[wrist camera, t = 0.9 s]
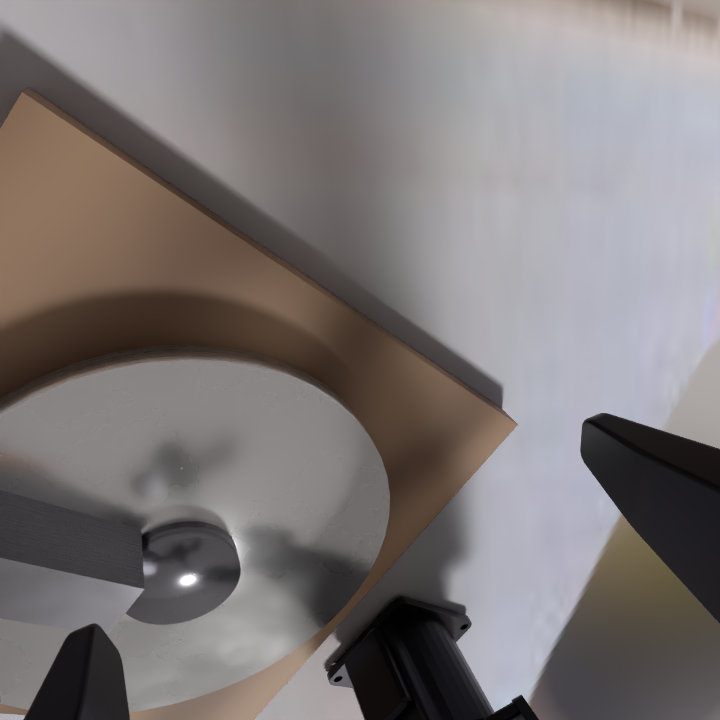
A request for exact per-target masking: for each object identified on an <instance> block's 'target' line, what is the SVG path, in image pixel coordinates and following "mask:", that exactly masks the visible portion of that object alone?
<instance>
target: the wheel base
mask: <svg viewBox="0 0 720 720" xmlns="http://www.w3.org/2000/svg"><path fill="white" fill-rule="evenodd" d="M168 345H201V346H219V347H225V348H231V349H237V350H242V351H248V352H253V353H256V354H260V355H263V356H266V357H269V358H273V359H276V360H279V361H282V362H284V363H286V364H289V365H291V366H293V367H295V368H297V369H299V370H302V371H304V372H306V373H308V374H309V375H311V376H312V377H314V378H315V379H317V380H318V381H320V382H321V383H323V384H325V385H326V386H328V387H329V388H330V389H331V390H332V391H333V392H334V393H336V394H337V395H338V396H339V397H340V398H341V399H342V400H343V401H344V402H346V404H347V405H348V406H349V407H350V409H351V410H352V411H353V412H354V414H355V415H356V416H357V417H358V419H359V420H360V422H361V423H362V425H363V426H364V428H365V430H366V431H367V433H368V434H369V436H370V438H371V439H372V441H373V443H374V445H375V447H376V449H377V450H378V452H379V454H380V456H381V458H382V461H383V464H384V467H385V471H386V474H387V477H388V485H389V492H390V510H389V519H388V525H387V530H386V535H385V538H384V540H383V543H382V546H381V549H380V552H379V554H378V556H377V558H376V561H375V563H374V565H373V567H372V569H371V571H370V572H369V574H368V576H367V577H366V579H365V580H364V582H363V583H362V585H361V586H360V588H359V589H358V591H357V592H356V593H355V594H354V596H353V597H352V598H351V599H350V601H349V602H348V603H347V604H346V606H345V607H344V608H343V609H342V610H341V611H340V612H339V613H338V614H337V615H336V616H335V617H334V618H333V619H332V620H331V621H330V622H329V623H328V624H327V625H326V626H325V627H324V628H322V629H321V630H320V631H319V632H318V633H317V634H315V635H314V636H313V637H312V638H311V639H309V640H308V641H307V642H305V643H304V644H303V645H301V646H300V647H298V648H297V649H296V650H294V651H293V652H292V653H290V654H288V655H287V656H285V657H284V658H282V659H280V660H279V661H277V662H275V663H274V664H272V665H271V666H269V667H267V668H265V669H263V670H261V671H259V672H257V673H255V674H254V675H252V676H250V677H248V678H246V679H243V680H241V681H239V682H236V683H234V684H232V685H230V686H227V687H225V688H223V689H220V690H217V691H214V692H211V693H208V694H206V695H203V696H200V697H197V698H193V699H190V700H186V701H183V702H179V703H175V704H172V705H167V706H162V707H157V708H152V709H147V710H142V711H134V712H129V714H130V720H254V719H255V718H256V717H257V716H258V714H259V713H260V712H261V711H262V710H263V709H264V708H265V707H266V705H267V704H268V703H269V702H270V701H271V700H272V699H273V698H274V697H275V695H276V694H277V693H278V692H279V691H280V690H281V689H282V688H283V686H284V685H285V684H286V683H287V682H288V681H289V680H290V679H291V678H292V676H293V675H294V674H295V673H296V672H297V671H298V670H299V669H300V667H301V666H302V665H303V664H304V663H305V662H306V661H307V660H308V659H309V657H310V656H311V655H312V654H313V653H314V652H315V651H316V650H317V648H318V647H319V646H320V645H321V644H322V643H323V642H324V641H325V640H326V638H327V637H328V636H329V635H330V634H331V633H332V632H333V631H334V629H335V628H336V627H337V626H338V625H339V624H340V623H341V622H342V621H343V619H344V618H345V617H346V616H347V615H348V614H349V613H350V612H351V611H352V609H353V608H354V607H355V606H356V605H357V604H358V603H359V602H360V600H361V599H362V598H363V597H364V596H365V595H366V594H367V593H368V592H369V590H370V589H371V588H372V587H373V586H374V585H375V584H376V583H377V581H378V580H379V579H380V578H381V577H382V576H383V575H384V574H385V573H386V571H387V570H388V569H389V568H390V567H391V566H392V565H393V564H394V562H395V561H396V560H397V559H398V558H399V557H400V556H401V555H402V554H403V552H404V551H405V550H406V549H407V548H408V547H409V546H410V545H411V543H412V542H413V541H414V540H415V539H416V538H417V537H418V536H419V535H420V533H421V532H422V531H423V530H424V529H425V528H426V527H427V526H428V524H429V523H430V522H431V521H432V520H433V519H434V518H435V517H436V516H437V514H438V513H439V512H440V511H441V510H442V509H443V508H444V507H445V505H446V504H447V503H448V502H449V501H450V500H451V499H452V498H453V497H454V495H455V494H456V493H457V492H458V491H459V490H460V489H461V488H462V487H463V485H464V484H465V483H466V482H467V481H468V480H469V479H470V478H471V476H472V475H473V474H474V473H475V472H476V471H477V470H478V469H479V468H480V466H481V465H482V464H483V463H484V462H485V461H486V460H487V459H488V457H489V456H490V455H491V454H492V453H493V452H494V451H495V450H496V449H497V447H498V446H499V445H500V444H501V443H502V442H503V441H504V440H505V438H506V437H507V436H508V435H509V434H510V433H511V432H512V431H513V430H514V428H515V427H516V426H517V425H518V424H517V423H516V422H515V421H514V420H513V419H512V418H511V417H510V416H509V415H508V414H507V413H506V412H505V411H504V410H502V409H501V408H499V407H498V406H496V405H495V404H494V403H492V402H491V401H489V400H488V399H486V398H485V397H483V396H482V395H480V394H479V393H477V392H476V391H474V390H473V389H471V388H470V387H469V386H467V385H466V384H464V383H463V382H461V381H460V380H458V379H457V378H455V377H454V376H452V375H451V374H449V373H448V372H446V371H445V370H443V369H442V368H441V367H439V366H438V365H436V364H435V363H433V362H432V361H430V360H429V359H427V358H426V357H424V356H423V355H421V354H420V353H418V352H417V351H416V350H414V349H413V348H411V347H410V346H408V345H407V344H405V343H404V342H402V341H401V340H399V339H398V338H396V337H395V336H393V335H392V334H391V333H389V332H388V331H386V330H385V329H383V328H382V327H380V326H379V325H377V324H376V323H374V322H373V321H371V320H370V319H368V318H367V317H365V316H364V315H363V314H361V313H360V312H358V311H357V310H355V309H354V308H352V307H351V306H349V305H348V304H346V303H345V302H343V301H342V300H340V299H339V298H338V297H336V296H335V295H333V294H332V293H330V292H329V291H327V290H326V289H324V288H323V287H321V286H320V285H318V284H317V283H315V282H314V281H312V280H311V279H310V278H308V277H307V276H305V275H304V274H302V273H301V272H299V271H298V270H296V269H295V268H293V267H292V266H290V265H289V264H287V263H286V262H285V261H283V260H282V259H280V258H279V257H277V256H276V255H274V254H273V253H271V252H270V251H268V250H267V249H265V248H264V247H262V246H261V245H259V244H258V243H257V242H255V241H254V240H252V239H251V238H249V237H248V236H246V235H245V234H243V233H242V232H240V231H239V230H237V229H236V228H234V227H233V226H232V225H230V224H229V223H227V222H226V221H224V220H223V219H221V218H220V217H218V216H217V215H215V214H214V213H212V212H211V211H209V210H208V209H206V208H205V207H204V206H202V205H201V204H199V203H198V202H196V201H195V200H193V199H192V198H190V197H189V196H187V195H186V194H184V193H183V192H181V191H180V190H179V189H177V188H176V187H174V186H173V185H171V184H170V183H168V182H167V181H165V180H164V179H162V178H161V177H159V176H158V175H156V174H155V173H153V172H152V171H151V170H149V169H148V168H146V167H145V166H143V165H142V164H140V163H139V162H137V161H136V160H134V159H133V158H131V157H130V156H128V155H127V154H126V153H124V152H123V151H121V150H120V149H118V148H117V147H115V146H114V145H112V144H111V143H109V142H108V141H106V140H105V139H103V138H102V137H100V136H99V135H98V134H96V133H95V132H93V131H92V130H90V129H89V128H87V127H86V126H84V125H83V124H81V123H80V122H78V121H77V120H75V119H74V118H73V117H71V116H70V115H68V114H67V113H65V112H64V111H62V110H61V109H59V108H58V107H56V106H55V105H53V104H52V103H50V102H49V101H48V100H46V99H45V98H43V97H42V96H40V95H39V94H37V93H36V92H34V91H33V90H31V89H30V88H27V89H26V90H24V91H23V92H22V93H21V94H20V96H19V98H18V99H17V101H16V103H15V105H14V106H13V108H12V110H11V111H10V113H9V115H8V116H7V118H6V120H5V121H4V123H3V125H2V127H1V128H0V398H1V397H3V396H5V395H6V394H8V393H10V392H12V391H14V390H16V389H17V388H19V387H21V386H23V385H25V384H27V383H28V382H30V381H32V380H34V379H36V378H38V377H40V376H43V375H45V374H48V373H50V372H53V371H55V370H58V369H60V368H63V367H65V366H68V365H70V364H73V363H76V362H80V361H83V360H87V359H90V358H94V357H97V356H101V355H105V354H108V353H113V352H119V351H125V350H131V349H137V348H143V347H150V346H168ZM27 712H28V710H26V709H21V708H17V707H12V706H8V705H4V704H1V703H0V713H4V714H18V715H26V714H27Z"/></svg>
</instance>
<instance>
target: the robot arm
mask: <svg viewBox="0 0 720 720" xmlns="http://www.w3.org/2000/svg"><path fill="white" fill-rule="evenodd" d="M580 451H581V456H582V459H583V461H584V463H585V464H586V466H587V467H588V468H589V470H590V471H591V472H592V474H593V475H594V476H595V478H596V479H597V480H598V482H599V483H600V485H601V486H602V487H603V489H604V490H605V491H606V493H607V494H608V495H609V497H610V498H611V499H612V501H613V502H614V503H615V505H616V506H617V507H618V509H619V510H620V512H621V513H622V514H623V516H624V517H625V518H626V519H627V521H628V522H629V523H630V525H631V526H632V527H633V528H634V529H635V531H636V532H637V533H638V534H639V535H640V536H641V537H642V539H643V540H644V541H645V542H646V543H647V544H648V545H649V546H650V547H651V548H652V550H653V551H654V552H655V553H656V554H657V555H658V556H659V557H660V558H661V559H662V561H663V562H664V563H665V564H666V565H667V566H668V567H669V568H670V569H671V570H672V572H673V573H674V574H675V575H676V576H677V577H678V578H679V579H680V580H681V581H682V582H683V584H684V585H685V586H686V587H687V588H688V589H689V590H690V591H691V592H692V593H693V595H694V596H695V597H696V598H697V599H698V600H699V601H700V602H701V603H702V604H703V606H704V607H705V608H706V609H707V610H708V611H709V612H710V613H711V614H712V615H713V617H714V618H715V619H716V620H717V621H718V622H719V623H720V449H718V448H715V447H712V446H709V445H706V444H703V443H699V442H696V441H693V440H690V439H687V438H683V437H680V436H677V435H674V434H671V433H668V432H665V431H662V430H658V429H655V428H652V427H649V426H646V425H643V424H639V423H636V422H633V421H630V420H627V419H624V418H620V417H617V416H614V415H611V414H607V413H600V414H597V415H595V416H593V417H590V418H588V419H586V420H585V421H584V422H583V425H582V436H581V449H580ZM471 624H472V623H471V621H470V619H469V618H468V616H466V615H463V614H460V613H456V612H453V611H449V610H446V609H443V608H439V607H436V606H432V605H429V604H425V603H422V602H419V601H415V600H412V599H408V598H405V597H400V598H397V599H395V600H394V601H393V602H392V603H391V604H390V605H389V606H388V607H387V608H386V609H385V611H384V612H383V613H382V614H381V615H380V616H379V617H378V618H377V619H376V620H375V621H374V623H373V624H372V625H371V626H370V627H369V628H368V629H367V630H366V631H365V632H364V634H363V635H362V636H361V637H360V638H359V639H358V640H357V641H356V642H355V643H354V645H353V646H352V647H351V648H350V649H349V650H348V651H347V652H346V653H345V654H344V656H343V657H342V658H341V659H340V660H339V661H338V662H337V663H336V664H335V665H334V666H333V668H332V669H331V670H330V671H329V672H328V674H327V677H328V680H329V683H330V684H331V685H335V686H342V687H349V688H353V690H354V693H355V695H356V698H357V701H358V704H359V706H360V709H361V712H362V715H363V717H364V720H539V719H538V718H537V716H536V715H535V714H534V712H533V711H532V709H531V708H530V706H529V705H528V703H527V702H526V700H525V699H524V698H523V696H522V695H520V696H518V697H516V698H515V699H513V700H512V703H510V704H509V705H507V706H505V707H503V708H502V709H500V710H498V711H496V712H494V710H493V709H492V707H491V705H490V703H489V701H488V700H487V698H486V696H485V694H484V692H483V691H482V689H481V687H480V685H479V683H478V682H477V680H476V678H475V676H474V674H473V673H472V671H471V669H470V667H469V665H468V664H467V662H466V660H465V658H464V656H463V655H462V653H461V651H460V649H459V647H458V646H457V644H456V642H457V641H458V640H459V639H460V638H461V636H462V635H463V634H464V633H465V632H466V631H467V630H468V629H469V628H470V627H471ZM24 720H130V714H129V707H128V700H127V692H126V685H125V678H124V670H123V663H122V659H121V656H120V653H119V651H118V649H117V648H116V646H115V645H114V644H113V642H112V641H111V640H110V638H109V637H108V636H107V634H106V633H105V632H104V630H103V629H102V628H101V627H100V626H99V625H98V624H96V623H93V624H90V625H87V626H85V627H82V628H80V629H78V630H75V631H73V632H71V633H70V634H69V635H68V636H67V637H66V639H65V640H64V642H63V644H62V646H61V648H60V650H59V652H58V654H57V656H56V658H55V660H54V662H53V664H52V665H51V667H50V669H49V671H48V673H47V675H46V677H45V679H44V681H43V683H42V685H41V687H40V689H39V691H38V693H37V695H36V697H35V698H34V700H33V702H32V704H31V706H30V708H29V710H28V712H27V714H26V716H25V718H24Z"/></svg>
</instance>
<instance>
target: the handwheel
mask: <svg viewBox="0 0 720 720" xmlns="http://www.w3.org/2000/svg"><path fill="white" fill-rule="evenodd" d="M389 510H390V492H389V485H388V477H387V474H386V471H385V467H384V464H383V461H382V458H381V456H380V454H379V452H378V450H377V449H376V447H375V445H374V443H373V441H372V439H371V438H370V436H369V434H368V433H367V431H366V430H365V428H364V426H363V425H362V423H361V422H360V420H359V419H358V417H357V416H356V415H355V414H354V412H353V411H352V410H351V409H350V407H349V406H348V405H347V404H346V402H344V401H343V400H342V399H341V398H340V397H339V396H338V395H337V394H336V393H334V392H333V391H332V390H331V389H330V388H329V387H328V386H326V385H325V384H323V383H321V382H320V381H318V380H317V379H315V378H314V377H312V376H311V375H309V374H308V373H306V372H304V371H302V370H299V369H297V368H295V367H293V366H291V365H289V364H286V363H284V362H282V361H279V360H276V359H273V358H269V357H266V356H263V355H260V354H256V353H253V352H248V351H242V350H237V349H231V348H225V347H219V346H201V345H168V346H150V347H143V348H137V349H131V350H125V351H119V352H113V353H108V354H105V355H101V356H97V357H94V358H90V359H87V360H83V361H80V362H76V363H73V364H70V365H68V366H65V367H63V368H60V369H58V370H55V371H53V372H50V373H48V374H45V375H43V376H40V377H38V378H36V379H34V380H32V381H30V382H28V383H27V384H25V385H23V386H21V387H19V388H17V389H16V390H14V391H12V392H10V393H8V394H6V395H5V396H3V397H1V398H0V703H1V704H4V705H8V706H12V707H17V708H21V709H26V710H29V708H30V706H31V704H32V702H33V700H34V698H35V697H36V695H37V693H38V691H39V689H40V687H41V685H42V683H43V681H44V679H45V677H46V675H47V673H48V671H49V669H50V667H51V665H52V664H53V662H54V660H55V658H56V656H57V654H58V652H59V650H60V648H61V646H62V644H63V642H64V640H65V639H66V637H67V636H68V635H69V634H70V633H71V632H73V631H75V630H78V629H80V628H82V627H85V626H87V625H90V624H93V623H96V624H98V625H99V626H100V627H101V628H102V629H103V630H104V632H105V633H106V634H107V636H108V637H109V638H110V640H111V641H112V642H113V644H114V645H115V646H116V648H117V649H118V651H119V653H120V656H121V659H122V663H123V670H124V678H125V685H126V692H127V700H128V707H129V712H134V711H142V710H147V709H152V708H157V707H162V706H167V705H172V704H175V703H179V702H183V701H186V700H190V699H193V698H197V697H200V696H203V695H206V694H208V693H211V692H214V691H217V690H220V689H223V688H225V687H227V686H230V685H232V684H234V683H236V682H239V681H241V680H243V679H246V678H248V677H250V676H252V675H254V674H255V673H257V672H259V671H261V670H263V669H265V668H267V667H269V666H271V665H272V664H274V663H275V662H277V661H279V660H280V659H282V658H284V657H285V656H287V655H288V654H290V653H292V652H293V651H294V650H296V649H297V648H298V647H300V646H301V645H303V644H304V643H305V642H307V641H308V640H309V639H311V638H312V637H313V636H314V635H315V634H317V633H318V632H319V631H320V630H321V629H322V628H324V627H325V626H326V625H327V624H328V623H329V622H330V621H331V620H332V619H333V618H334V617H335V616H336V615H337V614H338V613H339V612H340V611H341V610H342V609H343V608H344V607H345V606H346V604H347V603H348V602H349V601H350V599H351V598H352V597H353V596H354V594H355V593H356V592H357V591H358V589H359V588H360V586H361V585H362V583H363V582H364V580H365V579H366V577H367V576H368V574H369V572H370V571H371V569H372V567H373V565H374V563H375V561H376V558H377V556H378V554H379V552H380V549H381V546H382V543H383V540H384V538H385V535H386V530H387V525H388V519H389Z"/></svg>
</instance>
